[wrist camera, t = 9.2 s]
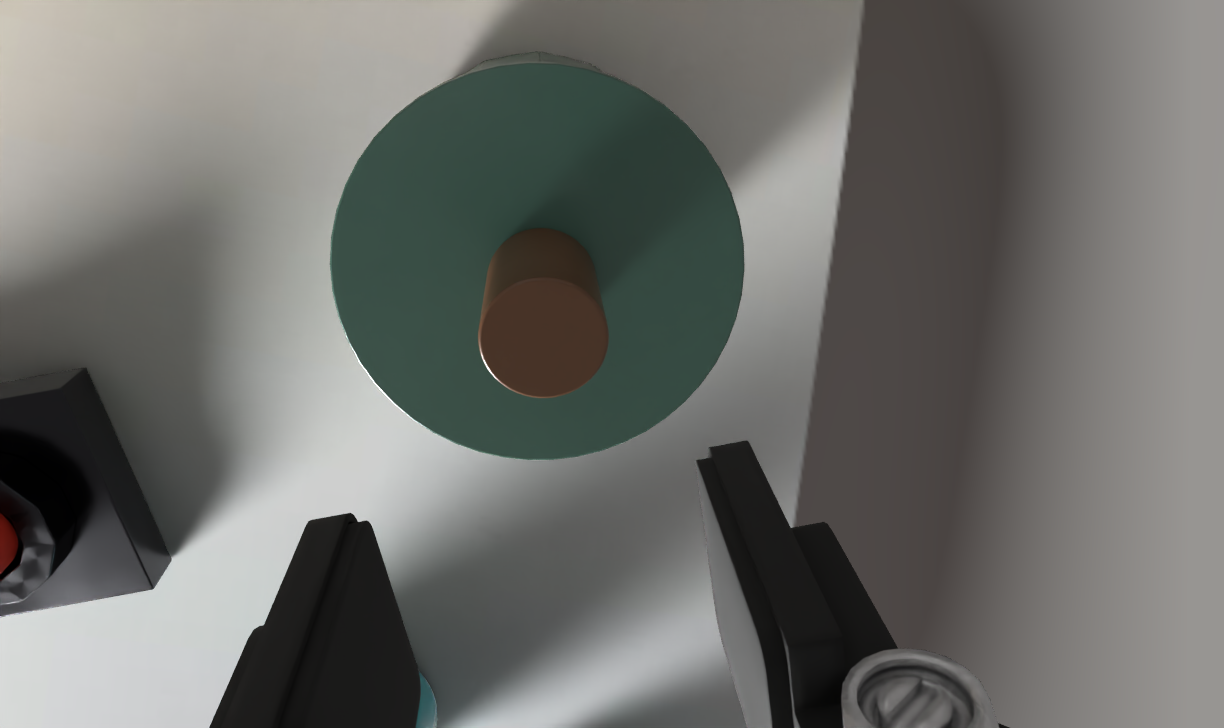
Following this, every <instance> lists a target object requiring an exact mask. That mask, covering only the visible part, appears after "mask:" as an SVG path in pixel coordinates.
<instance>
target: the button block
mask: <svg viewBox="0 0 1224 728" xmlns="http://www.w3.org/2000/svg"><path fill="white" fill-rule="evenodd" d="M0 513H1V514H2V515H4V516H5V517H6V518H7V519H8V521H9V522H10V523H11V525H12V526H13V528H14V530H15V532H16V535H17V538H18V549H17V553H16V556H15V558H14V559H13V561H12V562H11V563H10V564H9V565H8V566H7V567H6V568H5V570H4V571H3V572H2V573H1V574H0V617H5V616H10V615H15V614H21V613H26V612H32V611H37V610H43V609H48V608H54V607H59V606H64V605H70V604H75V603H81V602H86V601H92V600H97V599H103V598H108V597H113V596H119V595H124V594H130V593H135V592H141V591H146V590H152V589H154V587H155V586H156V584H157V583H158V581H159V580H160V578H161V576H162V575H163V573H164V572H165V570H166V569H167V567H168V565H169V564H170V562H171V557H170V555H169V552H168V550H167V548H166V546H165V543H164V541H163V539H162V537H161V534H160V532H159V530H158V528H157V525H156V523H155V521H154V519H153V516H152V514H151V512H150V510H149V507H148V505H147V503H146V501H145V498H144V496H143V494H142V492H141V489H140V487H139V485H138V483H137V481H136V478H135V476H134V474H133V472H132V469H131V467H130V465H129V463H128V460H127V458H126V456H125V454H124V451H123V449H122V447H121V445H120V442H119V440H118V438H117V436H116V433H115V431H114V429H113V427H112V424H111V422H110V420H109V418H108V415H107V413H106V411H105V409H104V406H103V404H102V402H101V400H100V397H99V395H98V393H97V391H96V388H95V386H94V384H93V382H92V379H91V377H90V375H89V373H88V371H87V368H79V369H74V370H68V371H63V372H57V373H52V374H46V375H40V376H35V377H29V378H24V379H18V380H13V381H7V382H1V383H0Z"/></svg>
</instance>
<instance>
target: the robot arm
mask: <svg viewBox="0 0 1224 728" xmlns="http://www.w3.org/2000/svg"><path fill="white" fill-rule="evenodd" d="M708 457H709V458H706V459H700V460H696V461H695V465H696V474H697V481H698V488H699V496H700V503H701V510H702V517H703V524H704V532H705V539H706V546H707V553H708V561H709V568H710V575H711V582H712V589H713V597H714V604H715V611H716V617H717V623H718V628H719V632H720V636H721V640H722V644H723V647H724V651H725V654H726V657H727V661H728V664H729V668H730V671H731V674H732V678H733V681H734V685H735V688H736V691H737V695H738V698H739V702H740V705H741V708H742V712H743V715H744V719H745V722H746V725H747V728H1009V727H1006V726H1004V725H1001V724H999V723H998V722H997V719H996V716H995V713H994V710H993V707H992V704H991V700H990V698H989V696H988V694H987V692H986V690H985V689H984V687H983V685H982V683H981V681H980V680H978V679H977V678H976V677H975V676H974V675H973V674H972V673H971V672H970V671H969V670H968V669H967V668H966V667H964V666H962V665H961V664H959V663H957V662H955V661H953V660H952V659H950V658H948V657H946V656H943V655H940V654H936V653H933V652H930V651H927V650H920V649H908V648H900V649H898V648H897V646H896V644H895V642H894V640H893V639H892V637H891V635H890V633H889V631H888V630H887V628H886V626H885V624H884V623H883V621H882V619H881V617H880V616H879V614H878V612H877V610H876V608H875V606H874V605H873V603H872V601H871V599H870V598H869V596H868V594H867V592H866V590H865V589H864V587H863V585H862V583H861V581H860V580H859V578H858V576H857V574H856V572H855V571H854V569H853V567H852V565H851V564H850V562H849V560H848V558H847V556H846V555H845V553H844V551H843V549H842V547H841V546H840V544H839V542H838V541H837V539H836V537H835V535H834V533H833V532H832V530H831V528H830V527H829V526H828V524H827V523H825V522H822V523H816V524H810V525H805V526H799V527H794V528H790V526H789V524H788V522H787V520H786V518H785V516H784V513H783V511H782V509H781V507H780V505H779V503H778V501H777V499H776V497H775V495H774V493H773V491H772V489H771V487H770V485H769V483H768V480H767V478H766V476H765V474H764V472H763V470H762V468H761V466H760V464H759V462H758V460H757V458H756V456H755V454H754V452H753V449H752V447H751V445H750V443H749V442H748V441H741V442H736V443H730V444H725V445H719V446H714V447H709V448H708ZM420 696H421V683H420V675H419V670H418V666H417V663H416V660H415V657H414V654H413V651H412V648H411V645H410V642H409V639H408V636H407V632H406V629H405V626H404V623H403V620H402V617H401V614H400V611H399V608H398V605H397V602H396V599H395V596H394V592H393V589H392V586H391V583H390V580H389V577H388V574H387V571H386V568H385V565H384V562H383V559H382V555H381V552H380V549H379V546H378V543H377V540H376V537H375V534H374V531H373V528H372V526H371V524H370V523H369V522H368V521H362V522H358V521H357V519H356V518H355V516H354V515H353V514H351V513H348V514H342V515H337V516H331V517H326V518H320V519H315V520H311V521H309V522H308V523H307V525H306V527H305V529H304V532H303V534H302V536H301V539H300V541H299V544H298V546H297V548H296V551H295V553H294V555H293V558H292V560H291V563H290V565H289V567H288V570H287V572H286V574H285V577H284V579H283V581H282V584H281V586H280V589H279V591H278V593H277V596H276V598H275V600H274V603H273V605H272V608H271V610H270V612H269V615H268V617H267V619H266V622H265V624H264V625H263V626H259V627H258V628H256V629H254V630H253V632H252V633H251V635H250V637H249V638H248V640H247V643H246V645H245V647H244V650H243V652H242V654H241V656H240V659H239V661H238V663H237V666H236V668H235V670H234V672H233V675H232V677H231V679H230V682H229V684H228V686H227V688H226V691H225V693H224V695H223V698H222V700H221V702H220V704H219V707H218V709H217V711H216V714H215V716H214V718H213V720H212V723H211V725H210V727H209V728H416V722H417V716H418V710H419V703H420Z"/></svg>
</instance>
